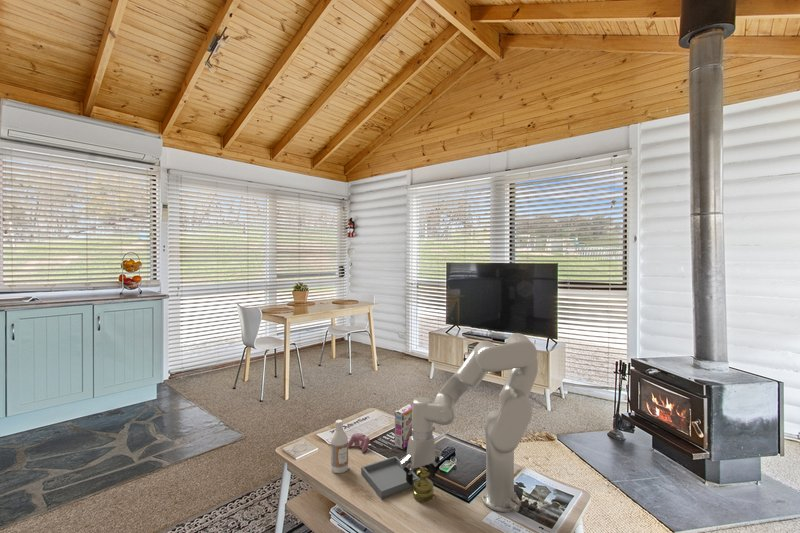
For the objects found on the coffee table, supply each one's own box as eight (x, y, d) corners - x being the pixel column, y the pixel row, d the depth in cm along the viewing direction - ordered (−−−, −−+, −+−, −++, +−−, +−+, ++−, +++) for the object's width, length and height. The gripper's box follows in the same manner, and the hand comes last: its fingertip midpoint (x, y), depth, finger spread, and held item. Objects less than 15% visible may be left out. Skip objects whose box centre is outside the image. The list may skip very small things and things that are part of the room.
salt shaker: (410, 499, 134) (409, 472, 134) (417, 487, 141) (417, 461, 140) (429, 505, 131) (429, 477, 131) (436, 492, 138) (436, 466, 137)
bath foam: (335, 476, 149) (334, 426, 148) (328, 467, 155) (327, 420, 154) (351, 470, 153) (350, 421, 152) (343, 462, 158) (343, 415, 158)
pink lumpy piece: (368, 453, 168) (372, 436, 171) (362, 453, 165) (367, 436, 167) (351, 447, 174) (355, 431, 176) (345, 447, 170) (349, 430, 173)
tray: (419, 485, 142) (419, 477, 142) (381, 499, 134) (381, 491, 134) (396, 462, 158) (395, 455, 157) (361, 474, 150) (361, 467, 150)
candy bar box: (403, 450, 168) (403, 414, 167) (394, 446, 171) (394, 411, 170) (417, 440, 177) (416, 405, 177) (408, 437, 180) (407, 403, 179)
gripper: (435, 423, 143) (434, 467, 143) (396, 433, 134) (395, 480, 135) (447, 432, 136) (446, 478, 137) (406, 443, 128) (405, 492, 128)
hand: (420, 479), depth 136 cm, fingers open, 9 cm apart
